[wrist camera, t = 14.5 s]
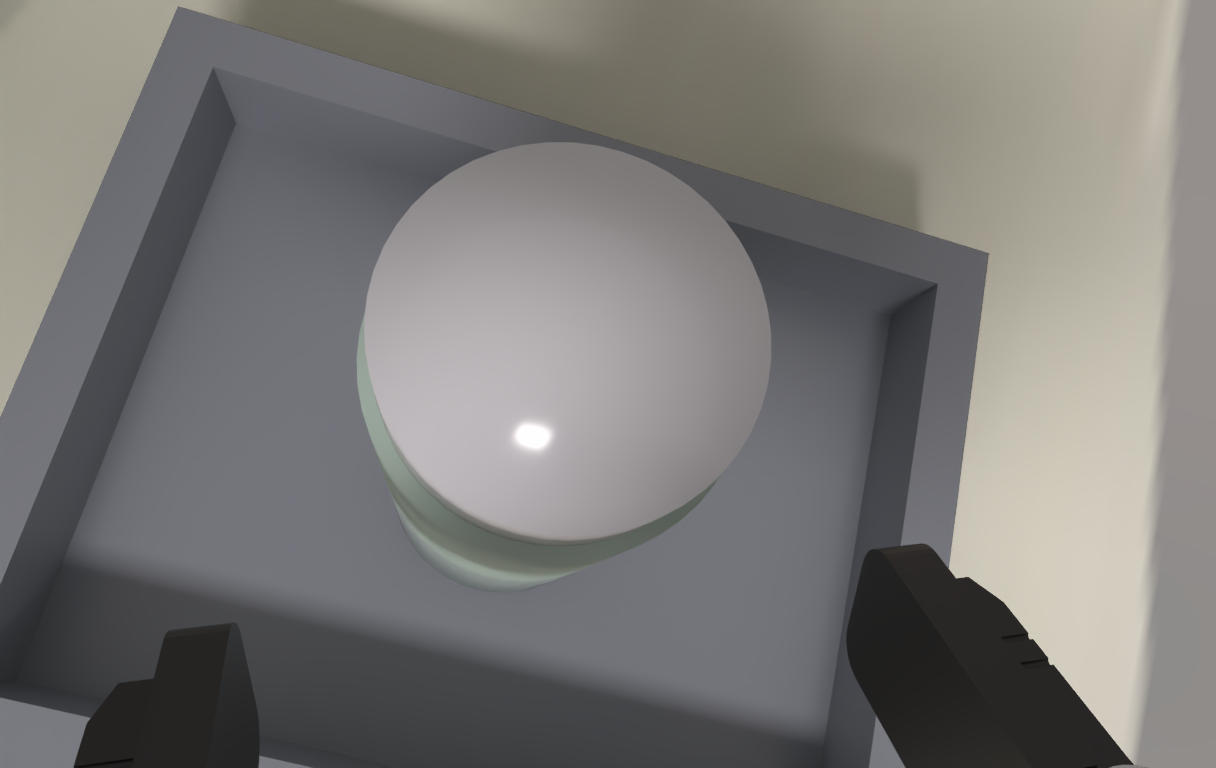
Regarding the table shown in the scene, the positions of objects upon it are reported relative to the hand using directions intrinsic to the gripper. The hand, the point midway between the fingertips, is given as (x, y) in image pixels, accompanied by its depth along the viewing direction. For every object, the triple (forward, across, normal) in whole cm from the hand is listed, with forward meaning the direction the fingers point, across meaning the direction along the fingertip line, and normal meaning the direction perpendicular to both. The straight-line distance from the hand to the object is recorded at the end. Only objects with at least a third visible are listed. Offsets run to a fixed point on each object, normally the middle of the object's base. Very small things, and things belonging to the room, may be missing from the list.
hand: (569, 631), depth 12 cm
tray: (+10, 0, +5) cm, 12 cm away
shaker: (+10, 0, +5) cm, 11 cm away
